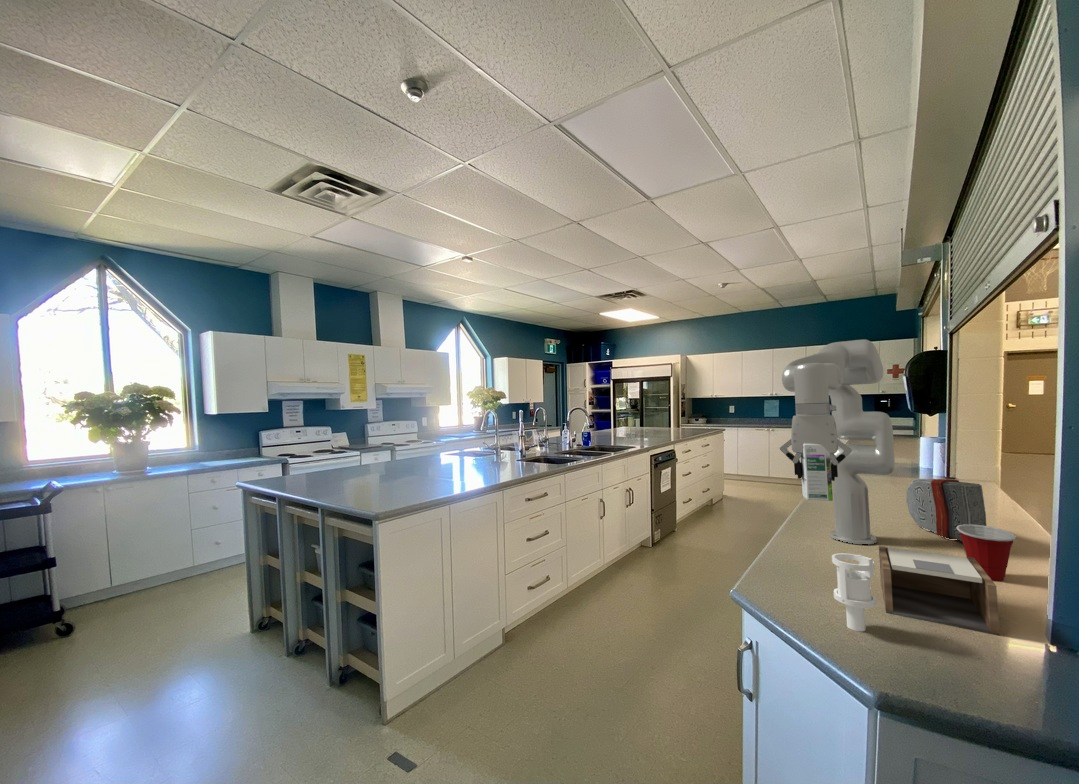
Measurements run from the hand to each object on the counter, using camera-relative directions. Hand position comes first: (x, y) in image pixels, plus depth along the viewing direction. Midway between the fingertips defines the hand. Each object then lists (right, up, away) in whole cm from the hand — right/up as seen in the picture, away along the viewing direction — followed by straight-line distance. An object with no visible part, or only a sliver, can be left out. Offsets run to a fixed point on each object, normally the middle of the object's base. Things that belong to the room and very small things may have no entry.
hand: (816, 478), depth 111 cm
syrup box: (0, -5, 0) cm, 5 cm away
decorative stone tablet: (+65, -26, +33) cm, 77 cm away
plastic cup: (+44, -25, -1) cm, 50 cm away
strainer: (-7, -26, -24) cm, 36 cm away
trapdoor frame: (+16, -25, -16) cm, 34 cm away
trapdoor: (+16, -16, -16) cm, 27 cm away
